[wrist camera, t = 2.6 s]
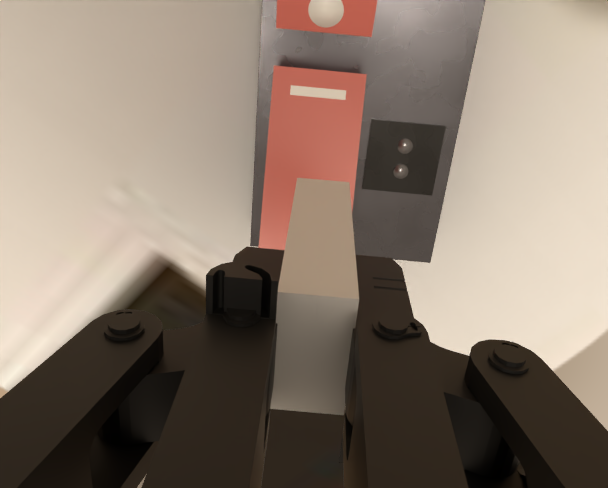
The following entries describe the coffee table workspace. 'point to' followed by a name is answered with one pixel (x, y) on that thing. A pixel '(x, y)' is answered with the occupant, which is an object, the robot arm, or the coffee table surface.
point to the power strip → (386, 113)
